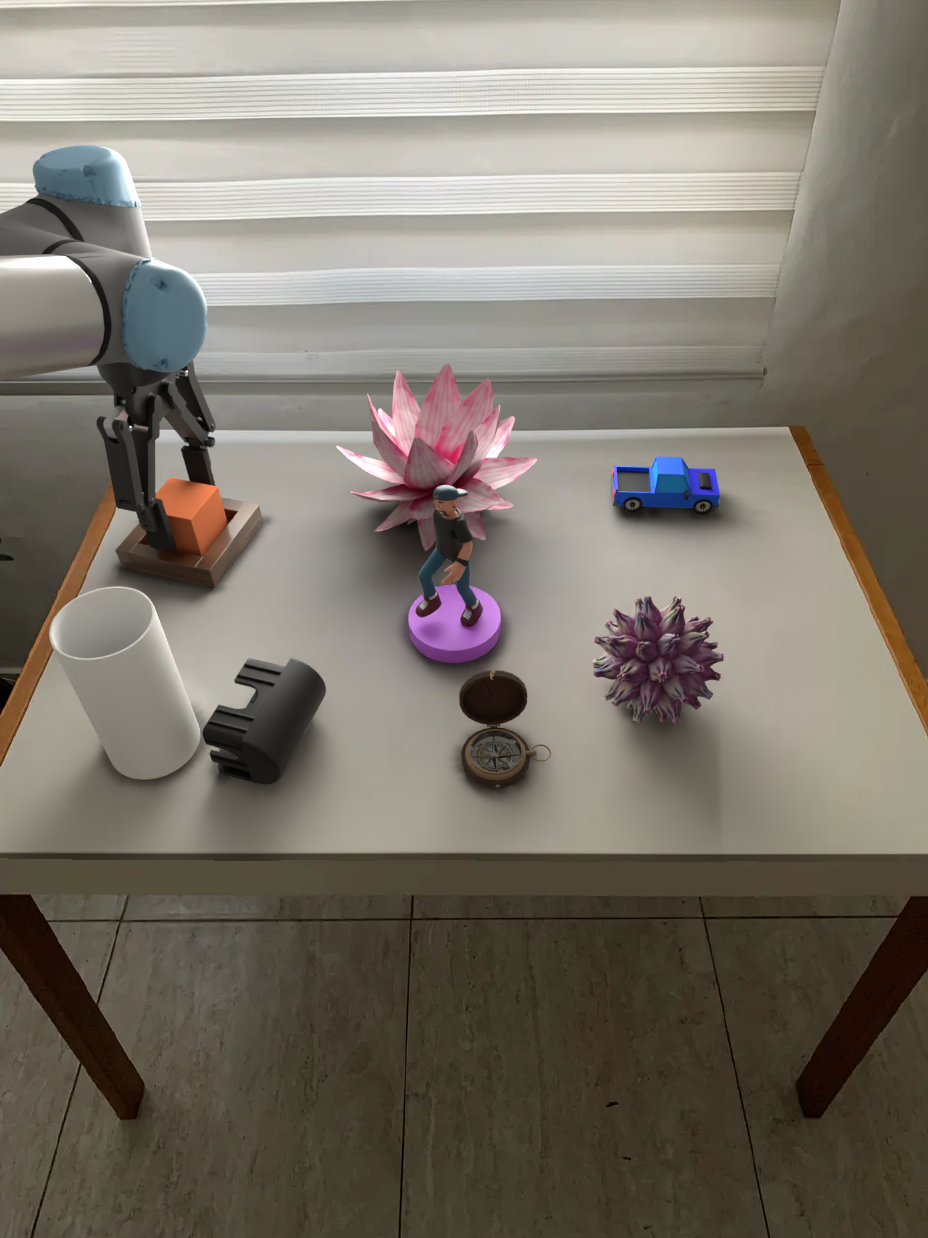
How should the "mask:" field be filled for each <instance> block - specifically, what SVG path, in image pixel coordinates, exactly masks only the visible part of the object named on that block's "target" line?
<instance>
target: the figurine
mask: <svg viewBox="0 0 928 1238" xmlns="http://www.w3.org/2000/svg"><path fill="white" fill-rule="evenodd" d="M467 495H468V492H467V491H465V490H463V489H456V488H454V487H453V486H450V485H441V486H438V487H437V488H436V489H435V491H434V493H433V497H434V502H433V503H434V505H436V508H435V510H434V513H433V522H434V528H435V533H436V541H435V549H434V550H433V551H432V553H431V554H430V555H429V557H428V558H427V560H426V562H425V563H424V565H423V566H422V567H421V569H420V570H419V572H418V581H419V583H420V587H421V590H422V593H423V594H420V595H419V596H418V597H417V598H416V600H414V601H413V603H412V605H411V606H410V609H409V611H408V615H407V616H408V617H407V618H408V619H407V622H408V623H407V624H408V633H409V637H410V640H411V642H412V644H413V646H414V647H415V648H416V650H417V651H418V652H419V653H421V654H422V655H423V656H425V657H427V658H429V659H431V660H434V661H438V662H439V663H440V662H441V663H448V664H460V663H461V664H462V663H467V662H472V661H474V660H477V659H479V658H481V657H483V656H485V655H486V654H488V653H489V652H490V651H492V649H493V648H494V647H495V645H496V644H497V642H498V640H499V639H500V636H501V629H502V627H501V626H502V625H501V624H502V621H501V619H502V617H501V616H502V615H501V609H500V607H499V605H498V603H497V601H496V599H494V598H493V597H492V596H491V595H490V594H489V593H488V592H486V591H484V590H482V589H480V588H478V587H474V586H471V585H470V583H471V564H470V558H471V557H470V556H471V554H472V551H473V547H474V546H473V541H474V537H473V536H472V535H471V533H470V531H469V528H468V526H467V521H466V519H465V517H464V515H463V514H462V513H461V512H460V511H459V510H458V509H457V505H458V498H459V497H462V496H467ZM446 561H449V562H450V563H452V564H451V565H449V566H448V567H446V568H444V572H445V573H448V572H449V574H448V575H447V576H446V577H445V578H444V579H443V580H442V581H441V585H440V586H437V587H436V586H435V585H436V584H435V581H434V579H433V577H434V576H435V575H436V574H437V572H439V571H440V569H441V568H442V566H443V565H444V564H445V563H446ZM454 582H455V584H454Z"/></svg>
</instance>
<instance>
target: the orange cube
mask: <svg viewBox="0 0 928 1238" xmlns="http://www.w3.org/2000/svg"><path fill="white" fill-rule="evenodd" d="M221 497H222V496H221V493H220V490H219V486H216V485H215V486H212V485H207V484H202V483H196V482H191V481H190V480H186V479H181V478H175V477H169V478H168V479H167V480H166V481H165V483H164V484H163V485H162V486H161V487H160V488H159V490H157V491H156V492H155V498H158V499H162V502H163V505H164V508H165V511H166V515H167V518H168V521H169V524H170V527H171V531H172V534H173V537H174V540H175V543H176V547H177V548H176V549H175V551H177V552H182V553H187V554H191V555H196V556H201V557H204V555H205V554H206V553H207V551H208V550H209V549H210V547H211V546H212V545H213V544H214V542H215V541H216V540H217V538H218V537H219V536H220V534H221V533H222V532H223V530H224V529H225V528H226V527H227V525H228V523H227V519H226V515H225V511H224V508H223V504H222V500H221Z"/></svg>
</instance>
